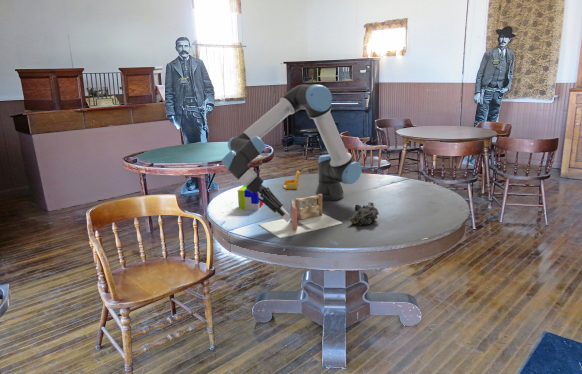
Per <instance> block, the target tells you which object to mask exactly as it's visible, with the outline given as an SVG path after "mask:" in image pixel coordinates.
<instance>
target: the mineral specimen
mask: <svg viewBox="0 0 582 374" xmlns="http://www.w3.org/2000/svg"><path fill="white" fill-rule="evenodd" d="M354 211H355V214H353V215H352V216H350V217H349V218H348V220H349V222H351V224H354V225H357V226H361V225H371V223H372V224H376V223H377V219H378V215H379V214H380V213H379V211H378V209H377V208H376V207H375V204H374V202H371V201H369V202H367V205H365V204H364V205H363V206H361V204H360V205H359V204H356V205H355V206H354Z"/></svg>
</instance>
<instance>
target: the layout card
mask: <svg viewBox="0 0 582 374" xmlns="http://www.w3.org/2000/svg"><path fill="white" fill-rule="evenodd" d="M343 224H344V223H343V222H342V221H340V220H337V219H335V218H333V217H331V216H329V215H327V214H325V213H322V215H319V216H315V217H310V218H305V219H301V220H297V230H293V224H292V220H291V219H290V220H289V221H288V222H286V221H285V220H284V219H283V218H280V219H278V220H272V221H267V222H261V223H259V224H258V226H260V227H261V228H262V229H265V231H267V232H269V233H270V234H272V235H274V236H275V237H277V238H278V239H283V238H287V237H292V236H297V235H301V234H305V233H309V232H313V231H317V230H321V229H326V228H330V227H335V226H339V225H343Z"/></svg>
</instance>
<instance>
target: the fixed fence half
mask: <svg viewBox="0 0 582 374" xmlns="http://www.w3.org/2000/svg"><path fill="white" fill-rule="evenodd" d="M307 201H308V206H307ZM312 201H313V203H312ZM300 202H302V207H301V208H300V205H301V204H300ZM294 203H295V207H296V208H297V220H301V219H305V218H310V217H315V216H319V215H322V214H323V200H322V194H318V195H316V194H315V195H312V196H311V195H310V196H306V197H302V198H301V197H300V198H294Z"/></svg>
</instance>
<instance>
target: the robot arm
mask: <svg viewBox="0 0 582 374" xmlns="http://www.w3.org/2000/svg"><path fill="white" fill-rule="evenodd" d="M332 101H333V96H332V93H331V91H330V89H329V88H328V87H326V86H325V85H322V84H305V83H303V84H300V85H299V84H298V85H296V86H295V87H293V88H291V90H289V91H287V93H285V94H284V95H283V96H282V97H280V99H279V102H277V104H275V105H274V106H273V107H272V108H271V109H269V110H268V111H266V112H265V114H263V115H262V116H261V117H260V118H258V119H257V120H256V121H254V123H252V124H251V125H250V126H249V127H247V129H245V130H244V131H243V132H242V133H240V134H239V135H238V136H233V137H230V139H228V143H227V148H228V150H229V152H228V153H227V154H226V155H225V156H224V157H223V158H222V159H221V164H222V165H223V166H224V167H225V168H226V170H228V172H230V173H231V175H233V176H234V177H235V178H236V179H237V181H239V183H240V184H242V186H247V187H246V188H247V189H248V190H249V191H250V192H251V193H253V192H254V191H255V193H256V194H257V195H258V196H259V197H258V199H259V200H260V201H262V202H263V205H265V206H266V207H267V208H269V209H270V210H271V211H272V212H273V213H275V214H276V213H277V214H278V215H279V216H280V217H281V219H284V220H285V221H286V222H288V221H289V220H290V219H291V218H292V216H291V213H290V214H289V212H288V211H287V210H286V209H285V208H284V207H283V206H284V205H283V203H282V202H281V201H280V200H279V199H278V198H277V196H276V195H274V193H273V192H272V190H271V189H270V188H269V187H268V186H267V187H265V186H264V185H263V183H264V180H263V179H262V178H261V176H260V175H258V174H257V172H255V171H254V170H253V169H252V167H250V166H249V165H250V164H251V163H252V162H253V161H255V160H256V159H257V157H259V155H261V154H262V152H263V151H265V149H266V145H265V144H266V143H264V141H263V140H262V138H263V137H264V136H266V135H267V134H269V132H270V131H272V130H273V129H274V128H275V127H276V126H278V125H279V124H280V123H281V122H282V121H283V120H285V119H286V118H287V117H288V116H290V115H293V114H295V113H297V112H298V111H300V110H305V111H306V113H307V116H308V118H309V119H312V120H313V122H314V124H315V126H316V129H317V130H318V133H319V134H320V137H321V140H322V142H323V144H324V146H325V149H326V150H327V153H328V154H322V155H319V157H318V160H317V162H318V163H317V165H318V167H317V169H318V170H317V171H318V184H317V186H316V187H317V188H316V190H315V196H316V195H318V194H322V201H337V200H340V199H343V198H344V190H343V187H342V184H345V185H353V184H355V183H357V181H359V179H360V177H361V174H362V165H360V163H359V162H357V161H354V157H353V155H352V154H351V153H350V152H348V151H347V150H346V149H347V148H346V147H345V145H344V142H343V140H342V137H341V135H340V132H339V130H338V127H337V125H336V123H335V121H334V118H333V116H332V113H331V110H332Z"/></svg>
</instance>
